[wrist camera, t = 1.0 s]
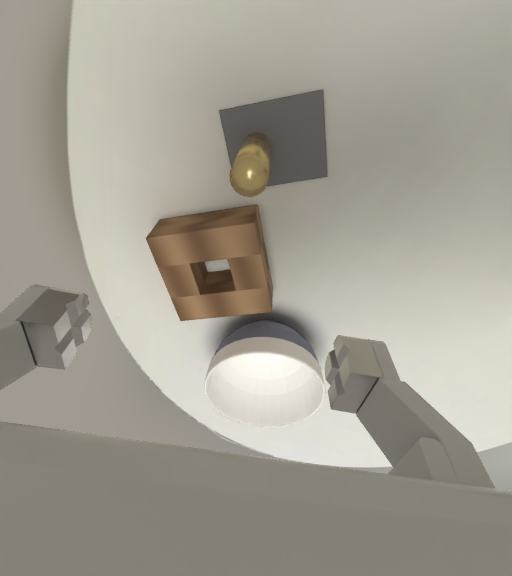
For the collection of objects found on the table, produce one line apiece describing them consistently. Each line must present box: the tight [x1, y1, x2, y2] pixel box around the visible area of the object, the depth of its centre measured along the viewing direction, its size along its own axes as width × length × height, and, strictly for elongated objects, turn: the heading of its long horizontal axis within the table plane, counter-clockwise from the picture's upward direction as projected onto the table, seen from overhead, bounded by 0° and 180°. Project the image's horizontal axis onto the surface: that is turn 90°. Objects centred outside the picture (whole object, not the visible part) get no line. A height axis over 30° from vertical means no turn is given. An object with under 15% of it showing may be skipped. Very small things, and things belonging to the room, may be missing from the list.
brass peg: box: [230, 133, 271, 197], centre depth 28 cm, size 3×3×10 cm
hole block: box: [146, 205, 273, 321], centre depth 39 cm, size 12×12×5 cm
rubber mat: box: [219, 90, 327, 186], centre depth 32 cm, size 10×8×1 cm
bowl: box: [204, 320, 325, 427], centre depth 45 cm, size 16×16×10 cm
